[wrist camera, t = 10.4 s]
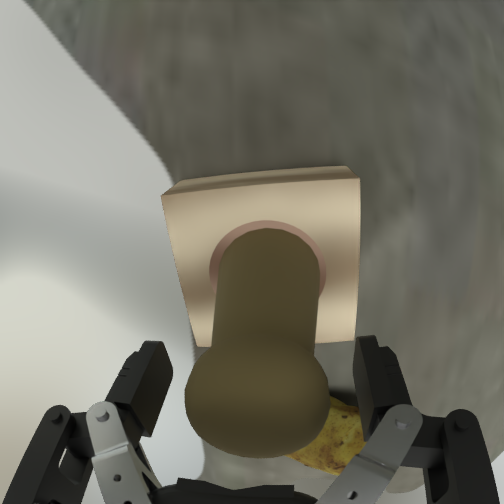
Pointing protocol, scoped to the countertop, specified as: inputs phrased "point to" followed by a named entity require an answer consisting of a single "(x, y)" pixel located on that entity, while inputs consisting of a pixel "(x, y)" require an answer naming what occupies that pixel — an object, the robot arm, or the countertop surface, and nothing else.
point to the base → (268, 216)
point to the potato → (334, 440)
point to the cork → (262, 351)
